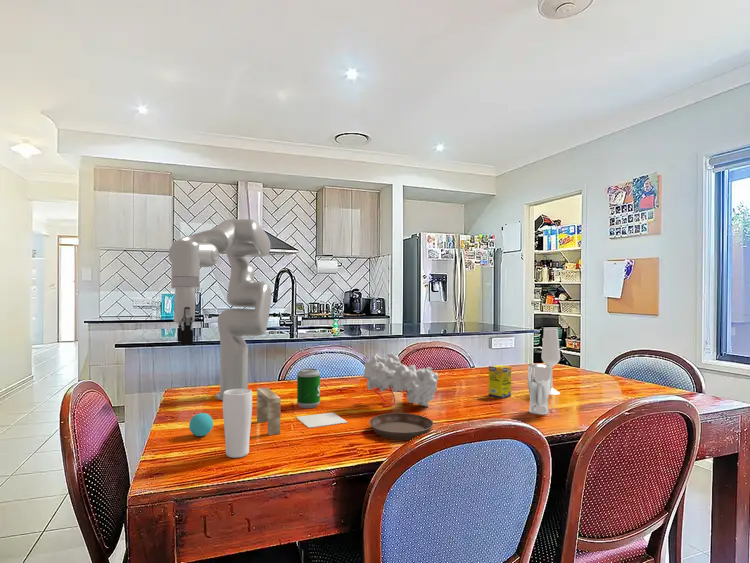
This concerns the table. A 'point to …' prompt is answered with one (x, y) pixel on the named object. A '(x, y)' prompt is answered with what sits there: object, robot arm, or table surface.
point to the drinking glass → (237, 421)
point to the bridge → (269, 409)
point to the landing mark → (321, 420)
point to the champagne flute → (551, 352)
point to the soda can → (308, 388)
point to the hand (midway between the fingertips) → (185, 343)
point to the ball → (201, 424)
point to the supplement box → (500, 381)
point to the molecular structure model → (400, 379)
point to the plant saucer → (400, 425)
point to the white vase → (539, 388)
